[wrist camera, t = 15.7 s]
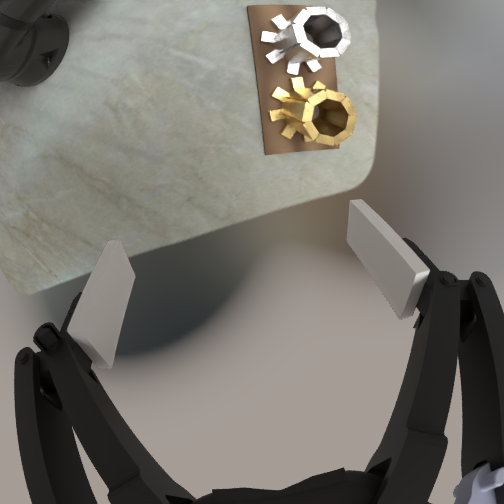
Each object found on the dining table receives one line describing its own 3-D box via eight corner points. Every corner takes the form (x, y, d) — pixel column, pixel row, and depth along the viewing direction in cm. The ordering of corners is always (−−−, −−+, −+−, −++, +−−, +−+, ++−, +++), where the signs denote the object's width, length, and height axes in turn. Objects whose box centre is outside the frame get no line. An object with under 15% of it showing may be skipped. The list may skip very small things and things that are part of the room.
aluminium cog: (270, 79, 38) (290, 76, 27) (253, 20, 31) (267, -3, 21) (333, 70, 37) (370, 68, 27) (317, 13, 31) (351, -5, 20)
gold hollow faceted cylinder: (292, 151, 46) (317, 174, 35) (255, 100, 40) (269, 105, 29) (342, 118, 43) (380, 132, 32) (309, 66, 37) (341, 62, 26)
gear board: (265, 153, 46) (271, 162, 41) (247, 7, 30) (251, -3, 25) (337, 147, 47) (351, 155, 42) (326, 8, 31) (339, 1, 26)
